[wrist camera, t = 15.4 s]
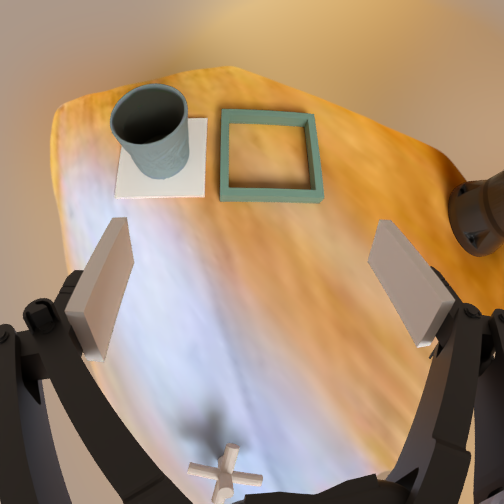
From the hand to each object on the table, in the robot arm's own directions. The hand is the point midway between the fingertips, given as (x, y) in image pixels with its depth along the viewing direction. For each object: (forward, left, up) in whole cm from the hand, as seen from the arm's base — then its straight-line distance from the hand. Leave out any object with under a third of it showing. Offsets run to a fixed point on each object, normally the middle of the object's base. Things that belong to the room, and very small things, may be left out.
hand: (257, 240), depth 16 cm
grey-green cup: (+11, -20, -29) cm, 37 cm away
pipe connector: (+2, +26, -30) cm, 40 cm away
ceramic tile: (+11, -21, -30) cm, 38 cm away
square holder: (-6, -21, -30) cm, 37 cm away
